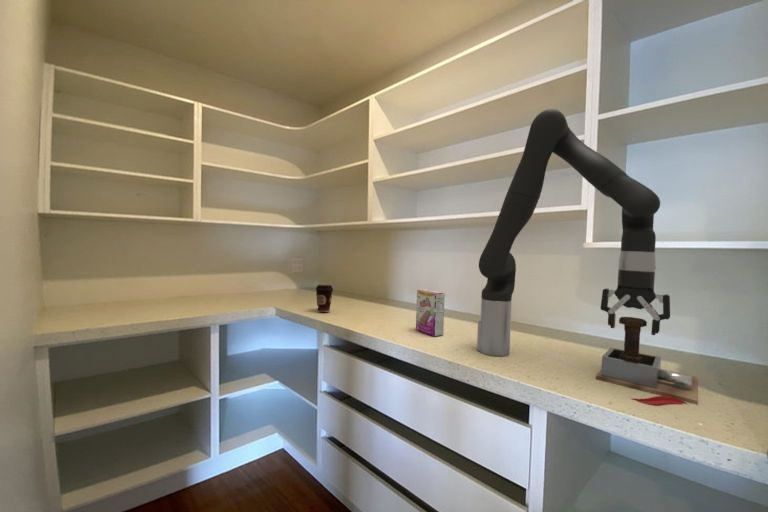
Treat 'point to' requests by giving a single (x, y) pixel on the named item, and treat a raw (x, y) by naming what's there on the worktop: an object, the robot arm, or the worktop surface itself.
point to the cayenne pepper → (660, 400)
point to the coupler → (640, 371)
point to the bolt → (632, 338)
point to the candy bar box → (430, 312)
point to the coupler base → (660, 388)
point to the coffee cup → (324, 297)
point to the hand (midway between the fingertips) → (632, 331)
